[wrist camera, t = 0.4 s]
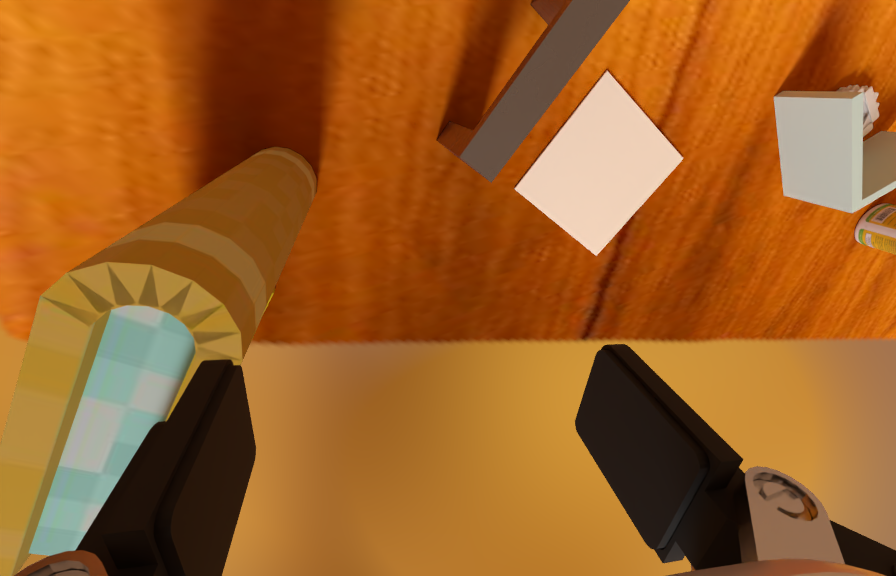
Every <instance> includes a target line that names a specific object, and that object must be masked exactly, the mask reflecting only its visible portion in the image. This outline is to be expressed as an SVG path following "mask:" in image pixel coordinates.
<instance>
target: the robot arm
mask: <svg viewBox="0 0 896 576" xmlns="http://www.w3.org/2000/svg"><path fill="white" fill-rule="evenodd" d="M575 426H576V430H577V432H578V434H579V436H580V437H581V439H582V441H583V442H584V444H585V446H586V447H587V449H588V450H589V452H590V454H591V455H592V457H593V459H594V460H595V462H596V463H597V465H598V467H599V468H600V470H601V472H602V473H603V475H604V476H605V478H606V480H607V481H608V483H609V484H610V486H611V488H612V489H613V491H614V493H615V494H616V496H617V497H618V499H619V501H620V502H621V504H622V506H623V507H624V509H625V510H626V512H627V514H628V515H629V517H630V519H631V520H632V522H633V523H634V525H635V527H636V528H637V530H638V532H639V533H640V535H641V536H642V538H643V540H644V541H645V543H646V544H647V545H648V546H649V547H650V548H651V549H654V550H655V551H656V553H657V555H658V556H659V558H660V560H661V561H662V563H667V562H673V561H679V560H683V558H684V556H686V557H687V559H688V560H689V562H690V563H691V571H690V572H685V573H679V574H674V575H668V576H896V551H895V550H893V549H891V548H889V547H887V546H885V545H882V544H880V543H878V542H876V541H874V540H872V539H869V538H867V537H865V536H863V535H861V534H859V533H857V532H854V531H852V530H850V529H848V528H846V527H844V526H841V525H839V524H837V523H835V522H833V521H831V520H829V518H828V515H827V512H826V510H825V509H824V507H823V505H822V503H821V502H820V501H819V500H818V499H817V498H816V496H815V495H814V494H813V493H812V492H811V491H809V490H808V489H807V488H806V487H805V486H804V485H802V484H801V483H799V482H797V481H796V480H795V479H793V478H791V477H790V476H788V475H786V474H783V473H781V472H779V471H777V470H773V469H770V468H767V467H753V468H749V469H748V470H747V471H746V472H745V473H743V471H742V470H741V469H740V468H739V466H740V464H741V463H742V461H743V459H742V458H741V457H740V456H739V455H738V454H737V453H736V452H735V451H734V450H733V449H732V448H731V447H730V446H729V445H728V444H727V443H726V442H725V441H724V440H723V439H722V438H721V437H720V436H719V435H718V434H717V433H716V432H715V431H714V430H713V429H712V428H711V427H710V426H709V425H708V424H707V423H706V422H705V421H704V420H703V419H702V418H701V417H700V416H699V415H698V414H697V413H696V412H695V411H694V410H693V409H692V408H691V407H690V406H689V405H688V404H687V403H685V401H684V400H682V399H681V398H680V397H679V396H678V395H677V394H676V393H675V392H674V391H673V390H672V389H671V388H670V387H669V386H668V385H667V384H666V383H665V382H664V381H663V380H662V379H661V378H660V377H659V376H658V375H657V374H656V373H655V372H654V371H653V370H652V369H651V368H650V367H649V366H648V365H647V364H646V363H645V362H644V361H643V360H642V359H641V358H640V357H639V356H638V355H637V354H636V353H635V352H634V351H633V350H632V349H631V348H630V347H628V346H627V345H625V344H614V345H604V346H603V347H602V349H601V350H599V351H598V352H597V354H596V356H595V360H594V363H593V366H592V369H591V372H590V375H589V378H588V382H587V385H586V388H585V391H584V394H583V398H582V401H581V404H580V407H579V410H578V413H577V417H576V420H575ZM255 455H256V445H255V440H254V434H253V429H252V423H251V417H250V412H249V405H248V400H247V394H246V388H245V383H244V377H243V371H242V367H241V366H240V365H234V364H233V362H232V360H230V359H223V360H204V361H202V362H201V363H200V365H199V367H198V368H197V370H196V372H195V374H194V375H193V377H192V379H191V380H190V382H189V384H188V386H187V387H186V389H185V391H184V392H183V394H182V396H181V398H180V399H179V401H178V403H177V404H176V406H175V408H174V410H173V411H172V413H171V415H170V416H169V418H168V420H167V421H161V422H157V423H156V424H154V425H153V427H152V428H151V429H150V430H149V432H148V433H147V435H146V437H145V438H144V440H143V442H142V443H141V445H140V446H139V448H138V450H137V451H136V453H135V454H134V456H133V458H132V459H131V461H130V463H129V464H128V466H127V467H126V469H125V471H124V472H123V474H122V476H121V477H120V479H119V480H118V482H117V484H116V485H115V487H114V488H113V490H112V492H111V493H110V495H109V497H108V498H107V500H106V501H105V503H104V505H103V506H102V508H101V510H100V511H99V513H98V514H97V516H96V518H95V519H94V521H93V522H92V524H91V526H90V527H89V529H88V531H87V532H86V534H85V535H84V537H83V539H82V540H81V542H80V544H79V545H78V547H77V548H76V550H75V551H65V552H62V553H58V554H55V555H51V556H48V557H46V558H44V559H42V560H40V561H38V562H36V563H34V564H31V565H29V566H27V567H26V568H25V569H23V570H22V571H20V572H19V573H17V574H16V575H14V576H222V573H223V569H224V566H225V562H226V559H227V555H228V552H229V548H230V545H231V541H232V538H233V534H234V531H235V527H236V524H237V520H238V517H239V514H240V510H241V507H242V503H243V500H244V496H245V493H246V489H247V486H248V482H249V479H250V475H251V472H252V468H253V465H254V461H255Z"/></svg>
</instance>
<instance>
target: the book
mask: <svg viewBox="0 0 896 576" xmlns="http://www.w3.org/2000/svg"><path fill="white" fill-rule="evenodd" d="M316 191H317V179H316V176H315V173H314V171H313V168H312V166H311V165H310V164H309V163H308V162H307V161H306V159H305V158H304V157H303V156H302V155H300V154H298V153H296V152H294V151H293V150H291V149H288V148H281V147H271V148H267V149H264V150H261V151H259V152H258V153H256V154H254V155H253V156H251V157H250V158H248V159H246V160H245V161H243V162H242V163H240V164H238V165H237V166H235V167H234V168H232V169H231V170H229V171H227V172H226V173H224V174H223V175H221V176H219V177H218V178H216V179H215V180H213V181H212V182H210V183H208V184H207V185H205V186H204V187H202V188H200V189H199V190H197V191H196V192H194V193H193V194H191V195H189V196H188V197H186V198H185V199H183V200H181V201H180V202H178V203H177V204H175V205H173V206H172V207H170V208H169V209H167V210H166V211H164V212H162V213H161V214H159V215H158V216H156V217H154V218H153V219H151V220H150V221H148V222H147V223H145V224H143V225H142V226H140V227H139V228H137V229H135V230H134V231H132V232H131V233H129V234H127V235H126V236H124V237H123V238H121V239H120V240H118V241H116V242H115V243H113V244H112V245H110V246H108V247H107V248H105V249H104V250H102V251H101V252H99V253H97V254H96V255H94V256H93V257H91V258H89V259H88V260H86V261H85V262H83V263H82V264H80V265H78V266H77V267H75V268H74V269H72V270H70V271H69V272H67V273H66V274H65V275H64V276H62V277H61V278H60V279H59V280H58V281H57V282H56V283H54V284H53V285H52V286H51V287H50V288H49V289H48V290H46V291H45V292H44V293H43V294H42V295H41V296H40V299H39V302H38V306H37V310H36V314H35V317H34V321H33V325H32V328H31V332H30V336H29V340H28V343H27V347H26V351H25V355H24V358H23V362H22V366H21V370H20V373H19V377H18V381H17V384H16V388H15V392H14V396H13V399H12V403H11V407H10V411H9V414H8V418H7V422H6V425H5V430H4V433H3V437H2V441H1V444H0V576H14V575H16V574H17V573H18V571H19V570H20V568H21V567H22V566H23V564H24V563H25V561H26V560H27V558H28V557H29V556H30V554H40V555H49V556H51V555H55V554H58V553H62V552H65V551H75V550H76V548H77V547H78V545H79V544H80V542H81V540H82V539H83V537H84V535H85V534H86V532H87V531H88V529H89V527H90V526H91V524H92V522H93V521H94V519H95V518H96V516H97V514H98V513H99V511H100V510H101V508H102V506H103V505H104V503H105V501H106V500H107V498H108V497H109V495H110V493H111V492H112V490H113V488H114V487H115V485H116V484H117V482H118V480H119V479H120V477H121V476H122V474H123V472H124V471H125V469H126V467H127V466H128V464H129V463H130V461H131V459H132V458H133V456H134V454H135V453H136V451H137V450H138V448H139V446H140V445H141V443H142V442H143V440H144V438H145V437H146V435H147V433H148V432H149V430H150V429H151V428H152V427H153V425H154V424H156V423H157V422H161V421H167V420H168V418H169V416H170V415H171V413H172V411H173V410H174V408H175V406H176V404H177V403H178V401H179V399H180V398H181V396H182V394H183V392H184V391H185V389H186V387H187V386H188V384H189V382H190V380H191V379H192V377H193V375H194V374H195V372H196V370H197V368H198V367H199V365H200V363H201V362H202V361H204V360H223V359H230V360H232V362H233V364H234V365H241V363H242V361H243V358H244V356H245V354H246V352H247V349H248V347H249V345H250V343H251V340H252V338H253V336H254V334H255V332H256V329H257V327H258V325H259V322H260V320H261V318H262V316H263V314H264V312H265V310H266V307H267V305H268V303H269V301H270V299H271V297H272V295H273V293H274V291H275V289H274V288H275V286H276V283H277V281H278V279H279V276H280V274H281V272H282V270H283V267H284V265H285V263H286V260H287V258H288V256H289V254H290V251H291V249H292V247H293V244H294V242H295V240H296V238H297V235H298V233H299V231H300V229H301V226H302V224H303V222H304V219H305V217H306V215H307V213H308V210H309V208H310V206H311V203H312V201H313V199H314V197H315V194H316Z"/></svg>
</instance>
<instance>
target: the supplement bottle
mask: <svg viewBox="0 0 896 576" xmlns="http://www.w3.org/2000/svg"><path fill="white" fill-rule="evenodd" d="M855 239H856V240H857V242H859V243H861V244H864V245H867V246H870V247H873V248H876V249H879V250H883V251H886V252H889V253H892V254H895V255H896V205H893V204H887V203H885V204H880V205H877V206H875V207H873V208H872V209H870V210H869V211H867V212H866V213H865V214H864V215H863V216H862V218H861V219H860V220H859V222H858V224H857V226H856V229H855Z"/></svg>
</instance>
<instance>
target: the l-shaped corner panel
mask: <svg viewBox="0 0 896 576" xmlns="http://www.w3.org/2000/svg"><path fill="white" fill-rule="evenodd" d="M878 94H879V93H878V92H874V91H873V87H872V86H870V87H869V88H868V86H866V85H865V86H861V87H859V86H858V85H853V86H852V85H849V86H848V87H846V88H845V87H841V88H839V89H838V90H837V91H836V92H835V91H782V92H781V93H779V94H777V95H776V96H774V104H775V114H776V124H777V134H778V143H779V153H780V163H781V173H782V183H783V193H784V196H788V197H791V198H795V199H799V200H803V201H807V202H811V203H814V204H818V205H822V206H826V207H830V208H834V209H838V210H841V211H845V212H849V213H853V212H855V211H857V210H859V209H860V208H862V207H864V206H866V205H867V204H869V203H871V202H873V201H874V200H876V199H878V198H879V197H881V196H883V195H885V194H886V193H888V192H890V191H892V190H893V189H895V188H896V132H887V131H880V132H879V133H877V134H875V135H874V136H872V137H870V138H869V139H867V140H865V141H864V142H863V137H864V136H865V135H866V134H868V133H869V132H870V131H871V130H872V129H873V122H874V121H875V120H876V119H877V118H878V117H879V111H878V107H879V104H880V103H878V102H876V99H877V97H878Z"/></svg>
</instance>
